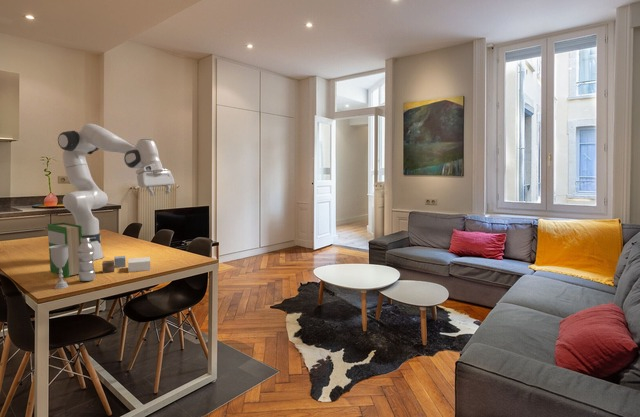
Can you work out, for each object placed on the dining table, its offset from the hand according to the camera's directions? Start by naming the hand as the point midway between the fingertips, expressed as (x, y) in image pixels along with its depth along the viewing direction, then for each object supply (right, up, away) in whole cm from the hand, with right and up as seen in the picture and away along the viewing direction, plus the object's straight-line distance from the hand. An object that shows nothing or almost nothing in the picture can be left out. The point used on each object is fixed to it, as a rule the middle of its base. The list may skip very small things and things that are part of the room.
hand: (160, 194), depth 192 cm
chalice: (-29, -42, -32) cm, 60 cm away
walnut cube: (-24, -39, -6) cm, 46 cm away
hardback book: (-42, -39, -10) cm, 58 cm away
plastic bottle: (-24, -41, -22) cm, 52 cm away
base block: (-11, -39, -1) cm, 40 cm away
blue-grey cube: (-23, -38, +4) cm, 45 cm away
